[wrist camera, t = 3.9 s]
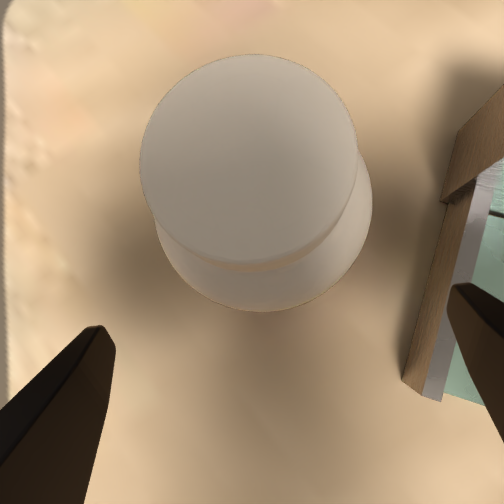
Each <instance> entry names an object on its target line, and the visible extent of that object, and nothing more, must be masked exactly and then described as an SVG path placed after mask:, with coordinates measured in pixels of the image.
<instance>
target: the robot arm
mask: <svg viewBox="0 0 504 504" xmlns="http://www.w3.org/2000/svg"><path fill="white" fill-rule="evenodd" d="M446 311H447V316H448V319H449V322H450V324H451V327H452V330H453V333H454V335H455V338H456V341H457V343H458V346H459V349H460V352H461V354H462V357H463V360H464V362H465V365H466V367H467V370H468V372H469V374H470V377H471V379H472V381H473V383H474V385H475V387H476V389H477V391H478V393H479V395H480V397H481V399H482V401H483V403H484V405H485V407H486V409H487V411H488V413H489V414H490V416H491V418H492V420H493V422H494V424H495V426H496V428H497V430H498V432H499V434H500V436H501V438H502V440H503V442H504V302H502V301H501V300H499V299H497V298H496V297H494V296H493V295H491V294H489V293H488V292H486V291H484V290H483V289H481V288H480V287H478V286H476V285H475V284H473V283H470V282H466V283H457V284H453V285H452V286H451V289H450V293H449V298H448V302H447V307H446ZM115 355H116V347H115V344H114V342H113V340H112V339H111V337H110V335H109V334H108V332H107V330H106V329H105V327H104V326H102V325H98V326H89V327H87V328H85V329H84V330H83V331H82V332H81V333H80V334H79V335H78V336H77V337H76V338H75V339H74V340H73V341H71V342H70V343H69V344H68V345H67V346H66V347H65V348H64V349H63V350H62V351H61V352H60V353H59V354H58V355H57V356H56V357H55V358H54V359H53V360H52V361H51V362H50V363H49V364H48V365H47V366H45V367H44V368H43V369H42V370H41V371H40V372H39V373H38V374H37V375H36V376H35V377H34V378H33V379H32V380H31V381H30V382H29V383H28V384H27V385H26V386H25V387H24V388H23V389H22V390H21V391H19V392H18V393H17V394H16V395H15V396H14V397H13V398H12V399H11V400H10V401H9V402H8V403H7V404H6V405H5V406H4V407H3V408H2V409H1V410H0V504H84V501H85V497H86V493H87V489H88V485H89V481H90V477H91V473H92V469H93V465H94V461H95V457H96V453H97V449H98V445H99V441H100V437H101V433H102V429H103V425H104V421H105V417H106V413H107V409H108V404H109V398H110V391H111V384H112V377H113V370H114V362H115Z"/></svg>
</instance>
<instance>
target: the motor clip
mask: <svg viewBox="0 0 504 504" xmlns="http://www.w3.org/2000/svg"><path fill="white" fill-rule="evenodd" d="M440 202H444V203H448V207H447V210H446V214H445V218H444V222H443V226H442V229H441V233H440V237H439V241H438V245H437V248H436V252H435V256H434V260H433V263H432V267H431V271H430V275H429V279H428V282H427V286H426V290H425V294H424V298H423V301H422V305H421V309H420V313H419V316H418V320H417V324H416V328H415V332H414V335H413V339H412V343H411V347H410V351H409V354H408V358H407V362H406V366H405V369H404V373H403V377H402V382H404V383H405V384H406V385H408V386H409V387H410V388H412V389H413V390H415V391H416V392H417V393H419V394H420V395H421V396H424V397H427V398H430V399H433V400H436V401H439V402H441V400H442V396H443V392H444V393H447V394H450V395H453V396H456V397H460V398H463V399H466V400H469V401H472V402H475V403H478V404H481V405H484V403H483V401H482V399H481V397H480V395H479V393H478V391H477V389H476V387H475V385H474V383H473V381H472V379H471V377H470V374H469V372H468V370H467V367H466V365H465V362H464V360H463V357H462V354H461V352H460V349H459V346H458V343H457V341H456V338H455V335H454V333H453V330H452V327H451V324H450V322H449V319H448V316H447V311H446V307H447V302H448V298H449V293H450V289H451V286H452V285H453V284H457V283H466V282H470V283H473V284H475V285H476V286H478V287H480V288H481V289H483V290H484V291H486V292H488V293H489V294H491V295H493V296H494V297H496V298H497V299H499V300H501V301H502V302H504V219H503V218H504V85H503V86H502V87H501V88H500V89H499V90H498V91H497V92H496V93H495V94H494V95H493V96H492V97H491V98H490V99H489V100H488V101H487V102H486V103H485V104H484V105H483V106H482V108H481V109H480V110H479V111H478V112H477V113H476V114H475V115H474V116H473V117H472V118H471V119H470V120H469V121H468V122H467V123H466V124H465V125H464V126H463V127H462V128H461V129H460V130H459V131H458V134H457V138H456V142H455V145H454V149H453V153H452V157H451V160H450V164H449V168H448V172H447V175H446V179H445V183H444V187H443V190H442V194H441V198H440ZM488 214H491V215H495V216H498V217H495V216H491V215H488ZM499 217H502V218H499ZM484 406H485V405H484Z"/></svg>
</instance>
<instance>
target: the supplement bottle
mask: <svg viewBox="0 0 504 504" xmlns="http://www.w3.org/2000/svg"><path fill="white" fill-rule="evenodd" d="M140 178H141V184H142V188H143V193H144V196H145V199H146V201H147V204H148V206H149V208H150V210H151V212H152V214H153V216H154V220H155V226H156V231H157V235H158V238H159V241H160V244H161V246H162V248H163V250H164V253H165V254H166V256H167V258H168V260H169V262H170V263H171V265H172V266H173V268H174V269H175V270H176V272H177V273H178V274H179V275H180V276H181V277H182V278H183V280H184V281H186V282H187V283H188V284H189V285H190V286H191V287H192V288H193V289H195V290H196V291H197V292H199V293H200V294H202V295H203V296H205V297H207V298H208V299H210V300H212V301H214V302H216V303H219V304H221V305H224V306H227V307H230V308H234V309H238V310H243V311H250V312H273V311H280V310H286V309H290V308H293V307H296V306H299V305H302V304H305V303H307V302H309V301H311V300H313V299H315V298H317V297H318V296H320V295H322V294H323V293H325V292H326V291H327V290H328V289H330V288H331V287H332V286H333V285H334V284H335V283H336V282H338V281H339V280H340V278H341V277H342V276H343V275H344V274H345V273H346V272H347V271H348V270H349V268H350V267H351V266H352V264H353V263H354V261H355V260H356V258H357V257H358V255H359V253H360V251H361V249H362V247H363V245H364V242H365V240H366V237H367V234H368V230H369V226H370V222H371V216H372V188H371V182H370V177H369V173H368V171H367V167H366V164H365V162H364V159H363V157H362V155H361V153H360V152H359V150H358V143H357V137H356V131H355V128H354V125H353V122H352V119H351V117H350V115H349V112H348V110H347V108H346V107H345V105H344V103H343V102H342V100H341V99H340V97H339V96H338V94H337V93H336V92H335V91H334V90H333V89H332V88H331V86H330V85H329V84H328V83H327V82H325V81H324V80H323V79H322V78H321V77H319V76H318V75H317V74H315V73H314V72H312V71H311V70H309V69H307V68H306V67H304V66H302V65H300V64H297V63H295V62H292V61H289V60H286V59H283V58H279V57H274V56H269V55H259V54H251V55H239V56H233V57H228V58H224V59H220V60H217V61H214V62H211V63H209V64H206V65H204V66H202V67H200V68H199V69H197V70H195V71H193V72H192V73H190V74H189V75H187V76H186V77H184V78H183V79H182V80H180V81H179V82H178V83H177V84H176V85H175V86H174V87H173V88H172V89H171V90H170V91H169V92H168V93H167V94H166V95H165V96H164V98H163V99H162V100H161V102H160V103H159V104H158V106H157V107H156V109H155V111H154V112H153V114H152V116H151V118H150V120H149V123H148V125H147V127H146V130H145V134H144V137H143V140H142V145H141V152H140Z"/></svg>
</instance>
